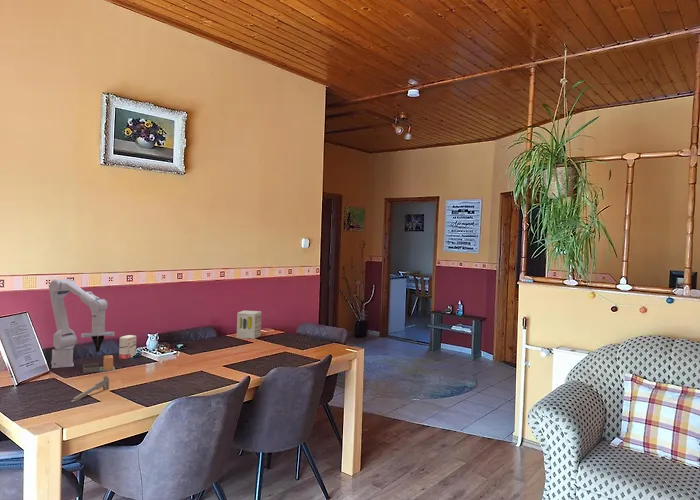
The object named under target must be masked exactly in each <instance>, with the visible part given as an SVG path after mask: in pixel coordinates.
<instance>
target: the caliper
mask: <svg viewBox="0 0 700 500" xmlns="http://www.w3.org/2000/svg"><path fill="white" fill-rule="evenodd" d="M101 388H102V390H107V389H109V388H110V378H109V377H108V375H107V374H106V375H104V376H102V379H100V380H99V381H97V382H96V383H95V384H94V385H93V386H91V387H89V388H88V389H86V390H85V391H83V392H81V393H80V394H77V395H76V396H75V397H73V399H71V401H70V403H75V402H78V401H79V400H81V399H82V398H84V397H86V396H87V395H89V394H91V393H93V392H94V391H95V390H99V389H101Z"/></svg>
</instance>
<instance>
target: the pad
mask: <svg viewBox="0 0 700 500" xmlns="http://www.w3.org/2000/svg"><path fill="white" fill-rule="evenodd" d="M99 367H100V372H109V371H116V367H115V366H114V365H113V370H105V371H104V368H103V367H104V366H99Z"/></svg>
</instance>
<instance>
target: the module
mask: <svg viewBox="0 0 700 500" xmlns="http://www.w3.org/2000/svg"><path fill="white" fill-rule="evenodd" d="M113 366H114V356H113V355H112V354H110V355H103V366H102V367H103V368H104V371H103V372H106V371H105V370H112V371H114V370H113Z"/></svg>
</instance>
